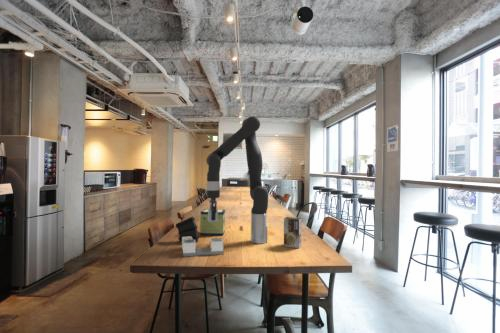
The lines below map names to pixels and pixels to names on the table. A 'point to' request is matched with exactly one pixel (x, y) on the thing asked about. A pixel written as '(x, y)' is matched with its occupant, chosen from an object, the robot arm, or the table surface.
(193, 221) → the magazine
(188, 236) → the block
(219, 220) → the protein box
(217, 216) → the block
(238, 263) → the table surface
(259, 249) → the table surface
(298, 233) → the coffee box
